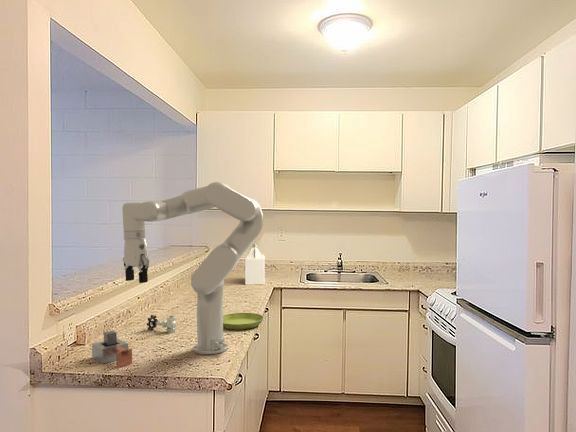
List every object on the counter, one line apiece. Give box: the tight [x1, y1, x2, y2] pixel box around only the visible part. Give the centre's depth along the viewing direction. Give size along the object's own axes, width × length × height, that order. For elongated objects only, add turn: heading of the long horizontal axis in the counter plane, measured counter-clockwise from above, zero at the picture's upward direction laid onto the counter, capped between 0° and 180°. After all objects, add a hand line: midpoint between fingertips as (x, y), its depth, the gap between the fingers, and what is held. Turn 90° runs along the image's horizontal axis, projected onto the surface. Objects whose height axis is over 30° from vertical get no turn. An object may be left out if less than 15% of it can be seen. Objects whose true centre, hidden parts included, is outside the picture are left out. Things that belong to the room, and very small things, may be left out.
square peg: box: [103, 330, 118, 347], centre depth 157 cm, size 3×3×9 cm
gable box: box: [244, 241, 266, 285], centre depth 312 cm, size 22×13×28 cm, turn 3°
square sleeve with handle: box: [91, 338, 133, 368], centre depth 155 cm, size 16×9×5 cm, turn 45°
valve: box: [146, 314, 177, 334], centre depth 191 cm, size 7×7×12 cm
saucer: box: [223, 312, 265, 330], centre depth 201 cm, size 21×21×3 cm
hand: (136, 281), depth 166 cm, fingers open, 9 cm apart
